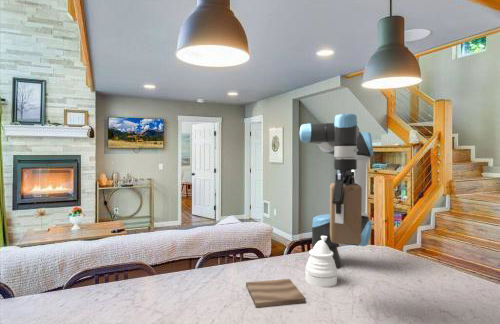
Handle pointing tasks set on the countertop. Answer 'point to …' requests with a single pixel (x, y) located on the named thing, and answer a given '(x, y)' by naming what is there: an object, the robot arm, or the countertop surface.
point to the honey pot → (321, 266)
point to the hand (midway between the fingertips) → (345, 219)
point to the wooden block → (347, 216)
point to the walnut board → (274, 293)
